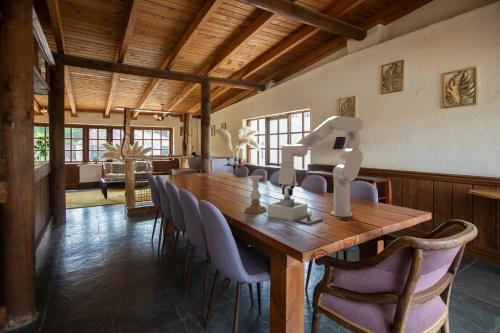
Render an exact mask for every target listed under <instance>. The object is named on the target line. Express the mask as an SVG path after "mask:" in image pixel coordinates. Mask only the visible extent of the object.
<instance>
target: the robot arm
mask: <svg viewBox="0 0 500 333" xmlns="http://www.w3.org/2000/svg"><path fill="white" fill-rule="evenodd" d="M363 129H364V121H363V120H362V119H361V118H359V117H354V116H353V117H352V116H341V115H340V116H339V115H336V116H332V117H329V118H327V119H326V120H325V121H324V122H321V124H320V125H319V126H318V127H316V128H315V129H314V130H312V131H311V132H309V133H307V135H306V136H303V138H301V139H300V140H299V141H297V142H296V143H294V145H292V144H283V145H282V146H281V151H280V152H281V160H280V161H281V162H280V163H279V165H280V166H281V167H280V168H279V172H278V182H277V184H278V185H279V186H280V187H281V195H282V196H284V187H287V185H288V187H289V196H291V197H292V196H293V192H294V188H295V187H297V186H298V185H299V184H298V182H297V176H296V174H297V173H296V168H295V157H297V158H304V157H305V156H307V155H308V153H309V149H310V148H312V147H313V146H316V145H318V144H320V143H322V142H324V141H325V140H326V139H328V137H330V136H331V135H332V134H333V133H335V132H337V131H339V132H340V131H341V132H343V133H344V135H345V141H344V144H343V148H342V151H341V153H340V161H341V162H342V163H344V164H338V165H336V166H335V167H334V168H333V170H332V178H333V210H332V211H331V213H330V214H331V215H332V216H334V217H340V218H347V217H348V218H349V217H352V216H353V212H351V210H352V207H351V204H350V203H351V202H350V201H351V184H350V182H353V181H355V179H356V178H357V176H358V174H359V172H360V169H361V166H362V163H363V161H364V160H363V159H364V154H363V152H362V150H361V149H359V147H360V143H361V136H360V135H361V134H360V132H361V131H362V130H363Z"/></svg>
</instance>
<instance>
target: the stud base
mask: <svg viewBox="0 0 500 333" xmlns="http://www.w3.org/2000/svg"><path fill="white" fill-rule="evenodd" d="M323 220H324V218H323V217H319V216H314V215H313V212H312V210H308V209H307V211H306V216H304V217H301V218H298V219H295V221H294V223H297V224H302V225H307V226H312V225H315V224H317V223H319V222H323Z"/></svg>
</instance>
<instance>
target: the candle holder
mask: <svg viewBox="0 0 500 333" xmlns="http://www.w3.org/2000/svg"><path fill="white" fill-rule="evenodd" d="M247 178H248V179H251V181H252V184H251V187H252V191H251V193H250V195H249V197H250V199H251V200H250V203H251V204H250V205H248V206H246V207H245V209H244V213H246V212H247V213H246V214H252V213H253V214H252V215H260V213H261V214H264V213H266V212H268V209H267V207H266V206H264V205H262V204H260V203H261V200H260V199H261V198H262V194H261V193H260V191H259V188H260V185H259V181H260V179H263V178H264V176H263V175H248V176H247Z"/></svg>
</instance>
